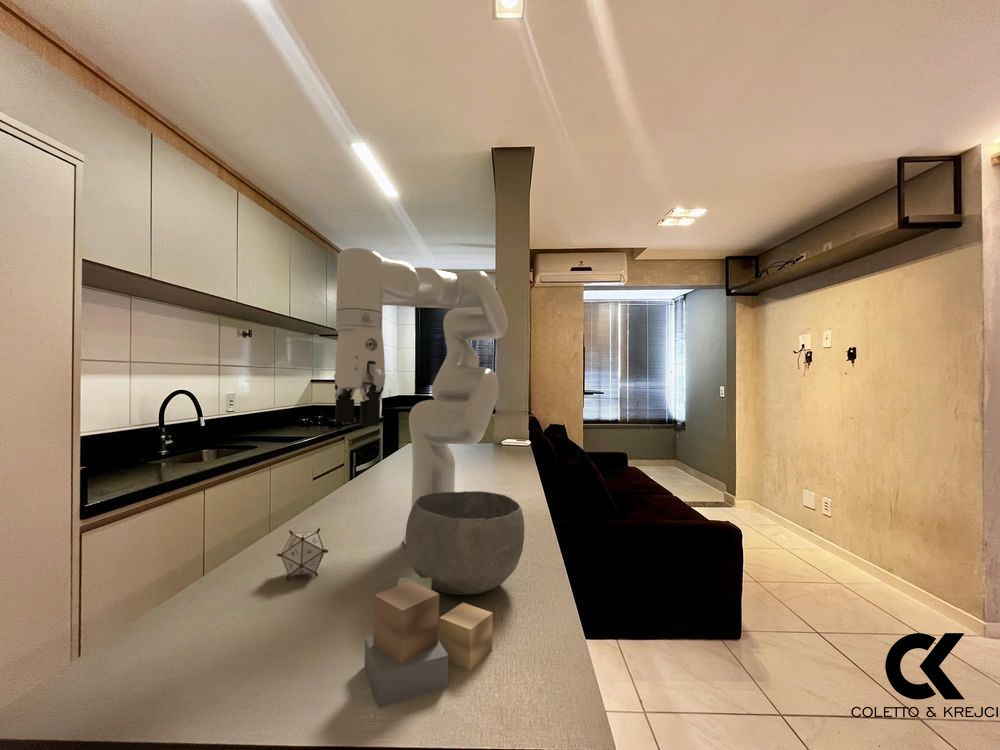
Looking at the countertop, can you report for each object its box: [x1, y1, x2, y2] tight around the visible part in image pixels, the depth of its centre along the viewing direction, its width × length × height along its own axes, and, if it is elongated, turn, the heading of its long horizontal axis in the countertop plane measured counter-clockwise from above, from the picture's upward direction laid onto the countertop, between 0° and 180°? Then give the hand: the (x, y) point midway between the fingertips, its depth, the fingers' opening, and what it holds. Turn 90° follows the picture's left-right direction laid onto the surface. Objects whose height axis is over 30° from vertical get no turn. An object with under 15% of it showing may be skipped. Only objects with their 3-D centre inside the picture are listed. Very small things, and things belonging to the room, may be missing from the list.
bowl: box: [405, 490, 525, 596], centre depth 78 cm, size 20×20×15 cm
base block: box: [363, 634, 449, 709], centre depth 54 cm, size 8×8×4 cm
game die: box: [275, 527, 329, 581], centre depth 82 cm, size 9×8×10 cm
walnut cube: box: [372, 581, 440, 664], centre depth 54 cm, size 6×6×6 cm
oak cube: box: [438, 602, 494, 670], centre depth 59 cm, size 5×5×5 cm
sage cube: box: [396, 577, 433, 591], centre depth 68 cm, size 5×5×5 cm
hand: (356, 423), depth 76 cm, fingers open, 9 cm apart
